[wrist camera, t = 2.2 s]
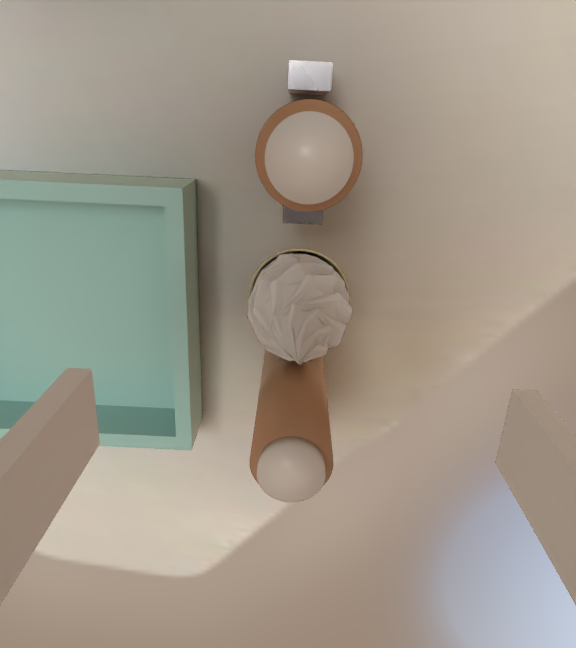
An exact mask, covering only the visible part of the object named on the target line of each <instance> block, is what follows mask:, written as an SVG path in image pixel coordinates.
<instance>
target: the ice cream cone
mask: <svg viewBox="0 0 576 648" xmlns="http://www.w3.org/2000/svg"><path fill="white" fill-rule="evenodd" d="M248 300H249V303H248V314H247V318H248V320H249V322H250V324H251V326H252V328H253V330H254V332H255V334H256V336H257V338H258V340H259V342H261V343H262V344H263V346H264V347H265V348H266V350H267V351H269V352H271V353H273V354H275V355H277V356H280V357H282V358H284V359H286V360H288V361H293V360H295V361H296V362H297V363H298V364H300V365H301V364H302V362H307V361H308V360H311V359H314V358H318V357H321V356H325V355H326V354H327V352H328V348H332V347H335V346H338V345H339V344H340V342H341V339H342V337H343V334H344V332H345V328H346V324H347V323H348V322H349V320H350V318H351V314H352V311H353V310H352V308H351V306H350V305H349V302H350V295H349V287H348V283H347V280H346V278H345V276H344V274H343V272H342V271H341V269H340V268H339V266H338V265H337V264H336V263H335V262H334V261H333V260H331V259H330V258H328V257H327V256H325V255H324V254H321V253H319V252H317V251H313V250H309V249H299V248H297V249H288V250H285V251H281V252H279V253H277V254H275V255H272V256H271V257H269V258H268V259H267V260H265V261H264V262H263V263H262V264H261V265H260V266H259V267H258V269H257V270H256V272H255V273H254V275H253V277H252V280H251V282H250V286H249V293H248Z"/></svg>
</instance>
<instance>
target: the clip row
mask: <svg viewBox="0 0 576 648" xmlns="http://www.w3.org/2000/svg"><path fill="white" fill-rule="evenodd" d="M332 69H333V62H321V61H300V60H289V72H288V90H289V92H290V93H297V94H318V95H326V94H327V93H329V92H330V91H331V84H332ZM322 216H323V209H322V210H318V211H298V210H294V209H291V208H289V207H286V206H284V205H283V223H297V224H318V225H322ZM277 360H286V359H284V358H282V357H280V356H278V357H277ZM293 361H295V360H293ZM308 361H310V362H313V359H311V360H308Z"/></svg>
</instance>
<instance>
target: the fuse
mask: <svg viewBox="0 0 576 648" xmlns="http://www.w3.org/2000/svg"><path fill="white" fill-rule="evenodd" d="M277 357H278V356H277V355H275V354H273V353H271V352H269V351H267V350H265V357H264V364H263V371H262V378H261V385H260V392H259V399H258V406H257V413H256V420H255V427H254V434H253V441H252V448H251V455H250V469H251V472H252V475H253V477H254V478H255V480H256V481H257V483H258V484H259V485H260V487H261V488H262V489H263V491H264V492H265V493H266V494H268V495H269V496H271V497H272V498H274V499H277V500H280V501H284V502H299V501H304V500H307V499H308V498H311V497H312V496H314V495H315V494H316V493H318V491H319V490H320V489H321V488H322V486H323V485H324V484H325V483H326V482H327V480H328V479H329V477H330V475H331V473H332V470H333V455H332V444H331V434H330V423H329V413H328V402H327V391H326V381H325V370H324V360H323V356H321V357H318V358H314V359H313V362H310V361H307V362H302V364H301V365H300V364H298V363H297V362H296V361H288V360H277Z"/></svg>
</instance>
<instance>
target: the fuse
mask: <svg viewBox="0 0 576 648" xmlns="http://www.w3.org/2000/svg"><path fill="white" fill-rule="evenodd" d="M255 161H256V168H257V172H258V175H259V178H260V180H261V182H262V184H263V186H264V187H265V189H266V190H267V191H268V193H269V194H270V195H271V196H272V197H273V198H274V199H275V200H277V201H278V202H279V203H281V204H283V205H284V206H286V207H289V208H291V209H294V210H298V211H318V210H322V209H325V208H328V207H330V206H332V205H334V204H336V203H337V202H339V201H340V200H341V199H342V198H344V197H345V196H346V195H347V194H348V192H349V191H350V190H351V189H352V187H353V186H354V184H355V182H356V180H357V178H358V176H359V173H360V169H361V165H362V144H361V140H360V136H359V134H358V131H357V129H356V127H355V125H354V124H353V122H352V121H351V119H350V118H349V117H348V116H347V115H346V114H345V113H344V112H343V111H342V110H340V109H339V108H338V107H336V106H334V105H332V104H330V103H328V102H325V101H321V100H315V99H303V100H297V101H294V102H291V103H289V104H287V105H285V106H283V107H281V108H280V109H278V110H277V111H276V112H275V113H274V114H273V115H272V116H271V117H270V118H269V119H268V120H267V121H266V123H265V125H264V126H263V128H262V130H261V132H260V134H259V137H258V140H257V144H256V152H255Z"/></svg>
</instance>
